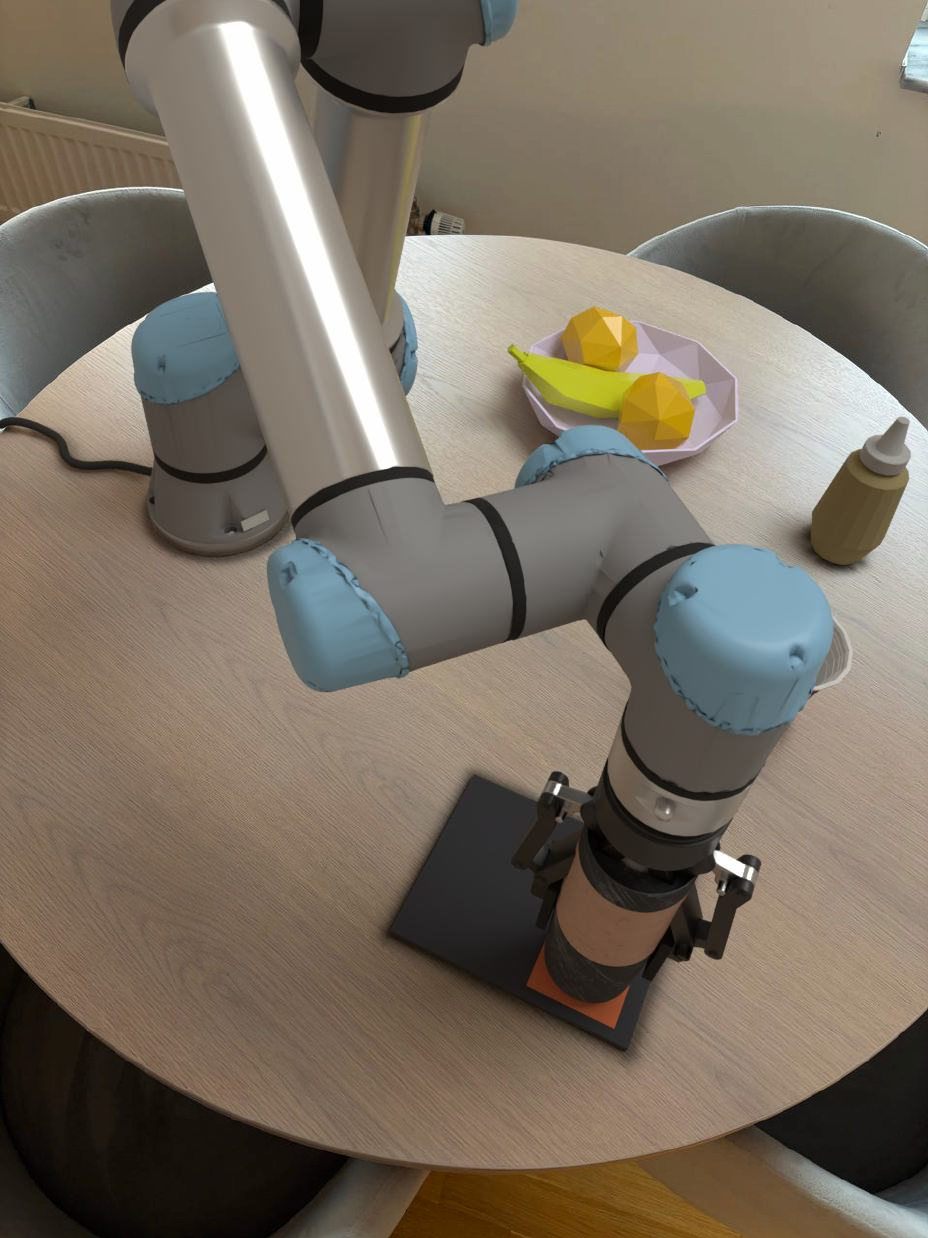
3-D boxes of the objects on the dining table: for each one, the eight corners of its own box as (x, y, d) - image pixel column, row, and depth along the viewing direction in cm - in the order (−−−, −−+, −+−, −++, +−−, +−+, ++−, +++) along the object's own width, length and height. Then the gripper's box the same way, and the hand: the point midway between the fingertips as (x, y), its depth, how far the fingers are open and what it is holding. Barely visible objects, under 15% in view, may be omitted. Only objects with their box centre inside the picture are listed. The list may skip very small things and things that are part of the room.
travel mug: (634, 1018, 70) (705, 910, 55) (532, 995, 71) (575, 882, 56) (642, 921, 75) (710, 796, 60) (547, 899, 76) (590, 771, 60)
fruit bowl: (724, 373, 127) (749, 298, 119) (724, 510, 110) (754, 433, 101) (518, 340, 129) (528, 263, 120) (486, 469, 112) (496, 390, 103)
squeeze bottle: (877, 537, 109) (949, 410, 95) (865, 583, 104) (940, 457, 90) (807, 513, 111) (869, 385, 97) (793, 557, 106) (855, 429, 92)
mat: (389, 933, 75) (389, 930, 75) (473, 777, 85) (474, 773, 84) (626, 1051, 71) (628, 1049, 70) (686, 872, 80) (688, 869, 80)
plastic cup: (786, 781, 87) (835, 706, 78) (679, 724, 90) (713, 646, 81) (823, 700, 93) (872, 623, 84) (721, 650, 96) (757, 570, 87)
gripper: (476, 757, 52) (451, 920, 70) (844, 920, 48) (719, 1051, 65) (528, 662, 57) (492, 837, 75) (868, 802, 52) (745, 954, 70)
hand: (598, 937), depth 70 cm, fingers closed on travel mug, 8 cm apart
